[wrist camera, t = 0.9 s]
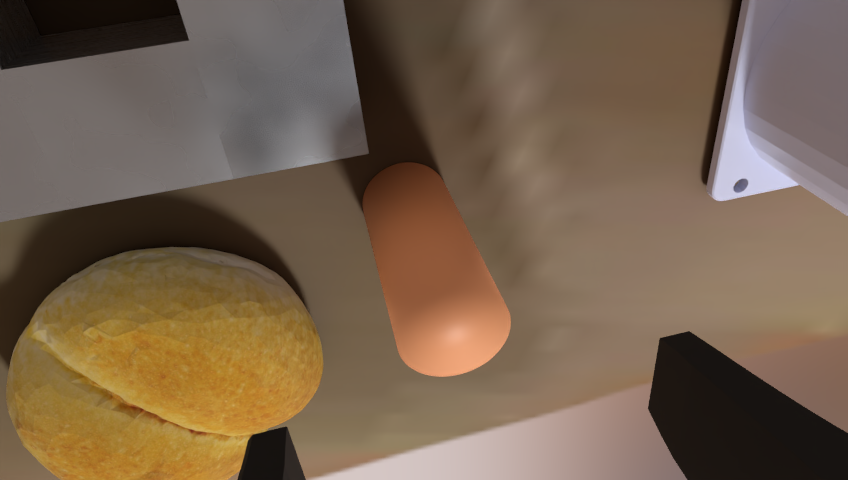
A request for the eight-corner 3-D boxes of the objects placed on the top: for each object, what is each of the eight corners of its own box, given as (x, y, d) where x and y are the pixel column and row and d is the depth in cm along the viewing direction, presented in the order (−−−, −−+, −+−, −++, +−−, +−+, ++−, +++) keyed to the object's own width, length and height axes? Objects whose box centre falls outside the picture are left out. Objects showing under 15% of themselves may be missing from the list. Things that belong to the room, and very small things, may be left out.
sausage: (443, 154, 18) (509, 275, 13) (449, 228, 19) (511, 362, 14) (355, 171, 17) (389, 301, 13) (369, 245, 19) (404, 387, 14)
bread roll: (363, 311, 21) (382, 400, 17) (206, 461, 23) (196, 564, 20) (137, 174, 16) (106, 258, 13) (-27, 376, 19) (-89, 490, 16)
